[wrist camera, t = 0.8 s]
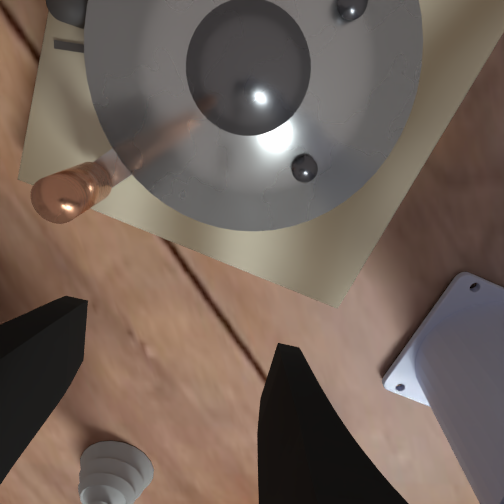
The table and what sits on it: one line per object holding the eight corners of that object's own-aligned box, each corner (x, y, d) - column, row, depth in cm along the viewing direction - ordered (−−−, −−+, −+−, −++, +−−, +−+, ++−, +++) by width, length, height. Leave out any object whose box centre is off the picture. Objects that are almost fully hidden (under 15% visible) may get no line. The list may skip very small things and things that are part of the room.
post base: (532, -47, 15) (593, -80, 12) (332, 294, 20) (342, 325, 18) (127, -273, 13) (86, -374, 10) (36, 172, 19) (-5, 186, 16)
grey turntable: (316, -231, 11) (337, -384, 8) (461, 128, 15) (523, 139, 11) (-13, 54, 15) (-107, 42, 11) (171, 291, 18) (146, 341, 15)
